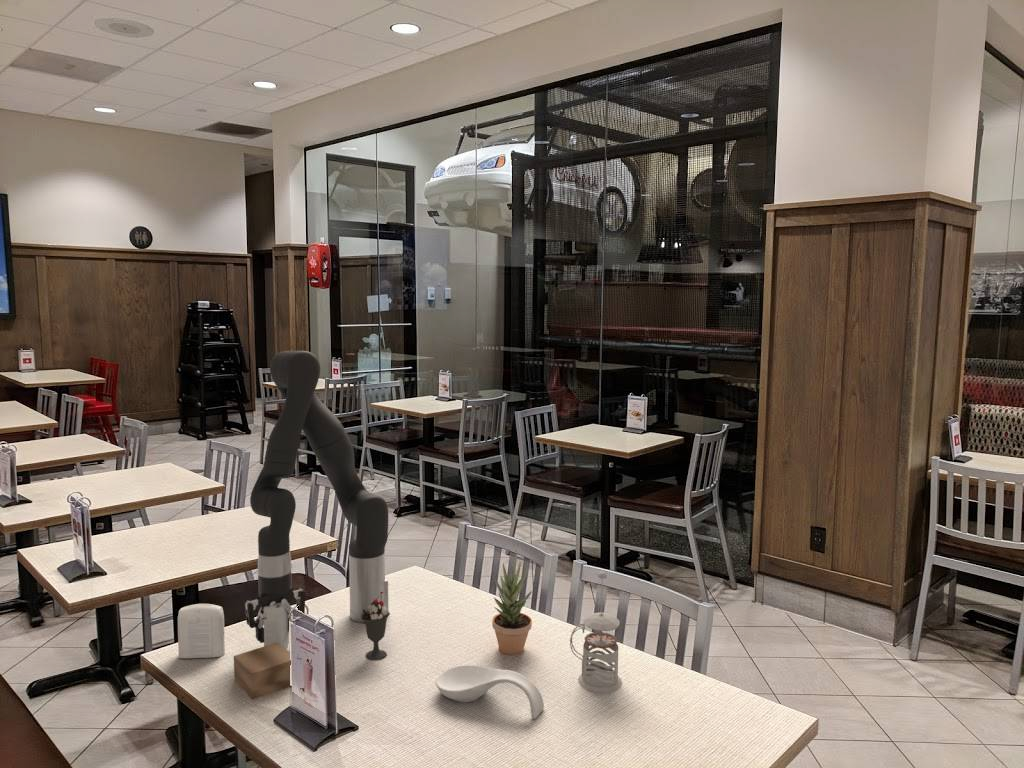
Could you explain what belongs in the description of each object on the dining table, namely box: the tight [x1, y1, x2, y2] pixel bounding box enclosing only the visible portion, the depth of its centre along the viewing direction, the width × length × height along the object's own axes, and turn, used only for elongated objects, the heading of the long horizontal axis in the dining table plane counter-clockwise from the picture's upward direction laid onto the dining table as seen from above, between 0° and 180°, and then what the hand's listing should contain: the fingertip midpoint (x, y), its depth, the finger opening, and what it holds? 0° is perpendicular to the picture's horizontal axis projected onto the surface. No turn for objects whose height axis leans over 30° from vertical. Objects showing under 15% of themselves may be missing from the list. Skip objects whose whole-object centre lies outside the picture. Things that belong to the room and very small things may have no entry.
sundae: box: [361, 592, 391, 661], centre depth 172 cm, size 7×7×15 cm
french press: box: [569, 571, 623, 694], centre depth 161 cm, size 10×12×25 cm
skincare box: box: [263, 603, 290, 650], centre depth 175 cm, size 6×4×12 cm
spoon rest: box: [435, 664, 545, 720], centre depth 154 cm, size 24×12×7 cm, turn 65°
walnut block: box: [233, 642, 291, 700], centre depth 160 cm, size 10×10×6 cm
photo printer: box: [177, 603, 226, 659], centre depth 172 cm, size 10×4×12 cm, turn 98°
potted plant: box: [491, 549, 533, 655], centre depth 176 cm, size 10×10×25 cm
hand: (276, 637), depth 175 cm, fingers closed on skincare box, 7 cm apart
